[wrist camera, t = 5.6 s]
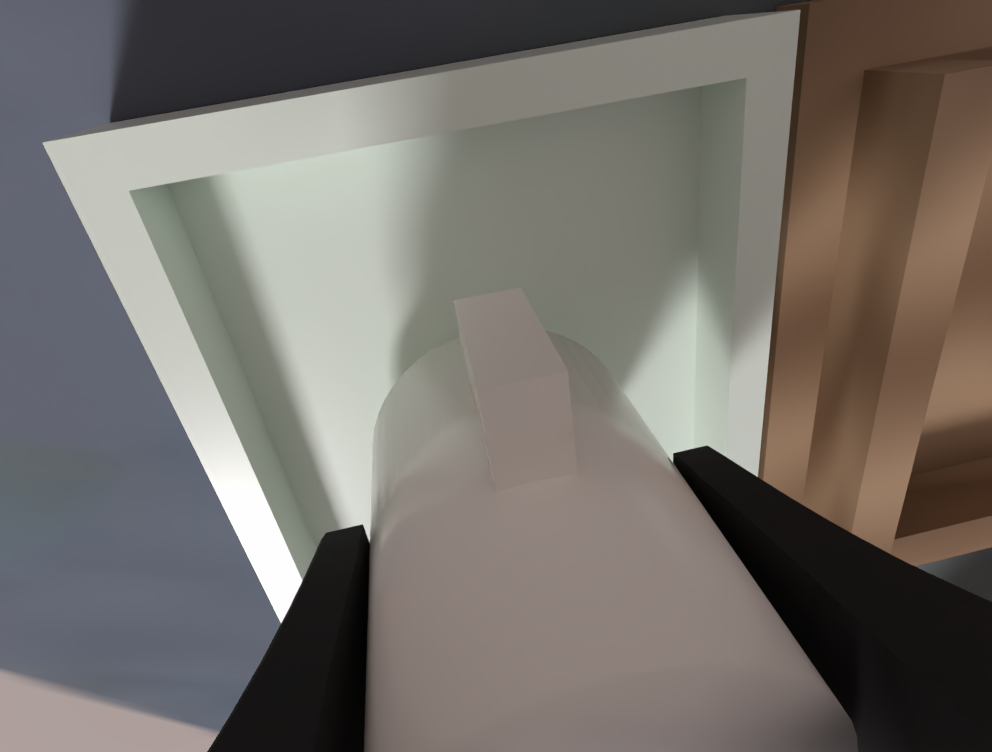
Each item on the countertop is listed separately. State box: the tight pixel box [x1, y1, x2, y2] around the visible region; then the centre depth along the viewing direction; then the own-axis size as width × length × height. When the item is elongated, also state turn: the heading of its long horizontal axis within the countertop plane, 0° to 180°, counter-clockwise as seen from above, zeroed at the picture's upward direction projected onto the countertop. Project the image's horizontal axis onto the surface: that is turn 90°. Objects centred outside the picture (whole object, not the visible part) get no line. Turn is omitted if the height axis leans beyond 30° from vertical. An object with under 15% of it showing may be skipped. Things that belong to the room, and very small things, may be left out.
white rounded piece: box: [364, 287, 858, 752], centre depth 9 cm, size 7×5×7 cm
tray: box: [43, 10, 800, 623], centre depth 13 cm, size 14×11×2 cm
